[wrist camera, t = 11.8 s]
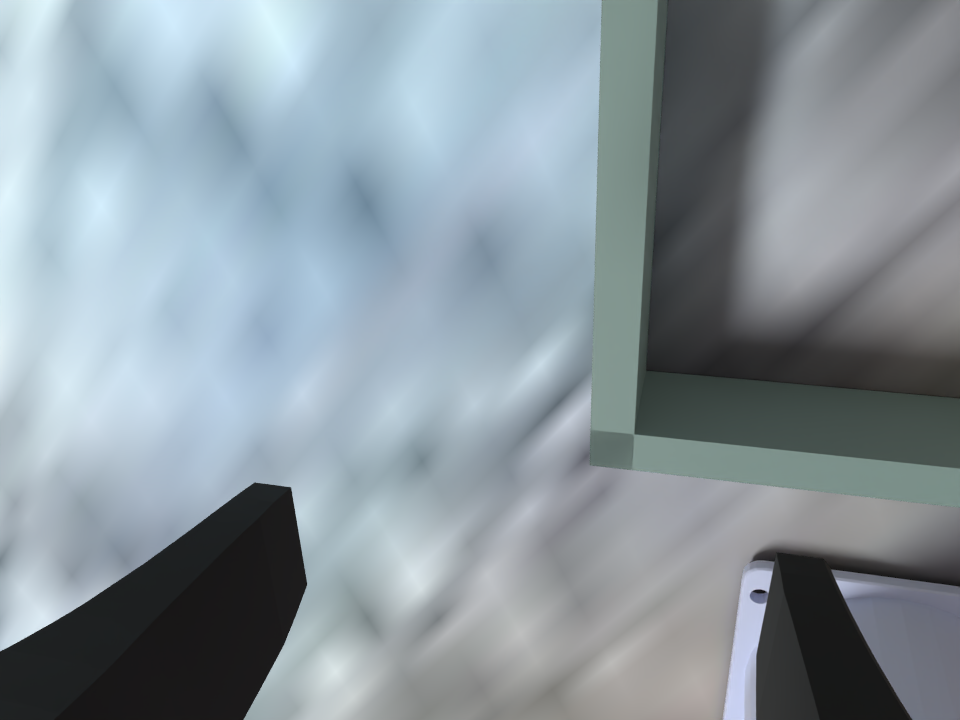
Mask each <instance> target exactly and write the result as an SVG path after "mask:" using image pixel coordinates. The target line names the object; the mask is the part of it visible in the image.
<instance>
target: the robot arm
mask: <svg viewBox="0 0 960 720" xmlns="http://www.w3.org/2000/svg"><path fill="white" fill-rule="evenodd" d="M306 586H307V581H306V575H305V569H304V563H303V557H302V551H301V545H300V539H299V533H298V527H297V521H296V515H295V509H294V503H293V497H292V491H291V487H284V486H276V485H269V484H261V483H253V484H252V485H251V486H249V487H248V488H246V489H245V490H243V491H242V492H241V493H239V494H238V495H237V496H235V497H234V498H232V499H231V500H230V501H228V502H227V503H226V504H224V505H223V506H222V507H220V508H219V509H218V510H216V511H215V512H214V513H212V514H211V515H210V516H208V517H207V518H206V519H204V520H203V521H202V522H200V523H199V524H198V525H196V526H195V527H194V528H192V529H191V530H190V531H188V532H187V533H186V534H184V535H183V536H182V537H180V538H179V539H177V540H176V541H175V542H173V543H172V544H171V545H169V546H168V547H166V548H165V549H164V550H162V551H161V552H160V553H158V554H157V555H155V556H154V557H153V558H151V559H150V560H149V561H147V562H146V563H144V564H143V565H141V566H140V567H138V568H137V569H135V570H134V571H132V572H131V573H129V574H128V575H127V576H125V577H124V578H122V579H121V580H119V581H118V582H116V583H115V584H113V585H112V586H110V587H109V588H107V589H106V590H104V591H103V592H101V593H100V594H98V595H97V596H95V597H94V598H92V599H91V600H89V601H88V602H86V603H84V604H83V605H81V606H80V607H78V608H76V609H75V610H73V611H72V612H70V613H68V614H66V615H65V616H63V617H61V618H60V619H58V620H56V621H55V622H53V623H51V624H50V625H48V626H46V627H44V628H42V629H41V630H39V631H37V632H35V633H34V634H32V635H30V636H28V637H26V638H25V639H23V640H21V641H19V642H17V643H16V644H14V645H12V646H10V647H8V648H6V649H4V650H2V651H0V720H243V719H244V718H245V716H246V714H247V712H248V710H249V708H250V707H251V705H252V703H253V701H254V699H255V698H256V696H257V694H258V692H259V690H260V688H261V687H262V685H263V683H264V681H265V679H266V677H267V675H268V674H269V672H270V670H271V668H272V666H273V664H274V662H275V661H276V659H277V657H278V655H279V653H280V651H281V649H282V647H283V645H284V643H285V641H286V638H287V636H288V633H289V631H290V628H291V626H292V623H293V621H294V619H295V616H296V613H297V611H298V608H299V605H300V602H301V600H302V597H303V594H304V592H305V589H306ZM756 589H762V590H765V591H766V592H765V593H764V594H758V593H755V592H753V591H754V590H756ZM723 720H960V587H959V586H951V585H944V584H936V583H929V582H921V581H914V580H907V579H899V578H892V577H884V576H877V575H869V574H862V573H854V572H847V571H839V570H832V569H831V568H830V566H829V565H828V564H827V563H826V562H825V561H824V559H821V558H813V557H806V556H798V555H791V554H783V553H776V557H775V562H772V561H764V560H758V561H753V562H750V563H749V564H748V565H746V566H745V568H744V570H743V574H742V581H741V589H740V596H739V603H738V611H737V618H736V625H735V633H734V640H733V647H732V655H731V662H730V669H729V677H728V684H727V691H726V699H725V706H724V713H723Z"/></svg>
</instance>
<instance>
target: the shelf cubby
mask: <svg viewBox="0 0 960 720" xmlns="http://www.w3.org/2000/svg"><path fill="white" fill-rule="evenodd" d="M667 10H668V0H602V15H601V53H600V91H599V129H598V167H597V205H596V243H595V281H594V319H593V357H592V395H591V433H590V465H592V466H601V467H609V468H618V469H627V470H636V471H644V472H653V473H662V474H671V475H679V476H688V477H697V478H705V479H714V480H723V481H732V482H740V483H749V484H758V485H766V486H775V487H784V488H793V489H801V490H810V491H819V492H828V493H836V494H845V495H854V496H862V497H871V498H880V499H889V500H897V501H906V502H915V503H923V504H932V505H941V506H950V507H958V508H960V398H949V397H938V396H926V395H915V394H904V393H892V392H881V391H870V390H859V389H847V388H836V387H825V386H813V385H802V384H791V383H780V382H768V381H757V380H746V379H735V378H723V377H712V376H701V375H689V374H678V373H667V372H656V371H646V362H647V345H648V328H649V312H650V295H651V278H652V261H653V245H654V228H655V211H656V194H657V177H658V161H659V144H660V127H661V110H662V94H663V77H664V60H665V43H666V26H667Z"/></svg>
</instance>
